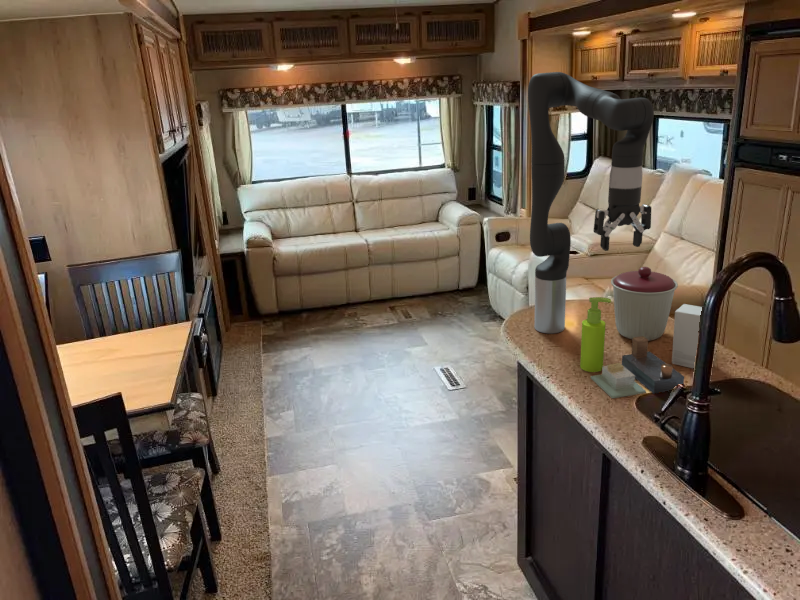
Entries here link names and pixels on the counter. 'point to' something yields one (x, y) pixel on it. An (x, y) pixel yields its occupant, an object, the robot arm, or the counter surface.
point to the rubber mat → (616, 394)
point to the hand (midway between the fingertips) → (620, 248)
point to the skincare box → (686, 335)
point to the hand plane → (650, 368)
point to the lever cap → (618, 377)
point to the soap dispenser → (593, 337)
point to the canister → (642, 302)
